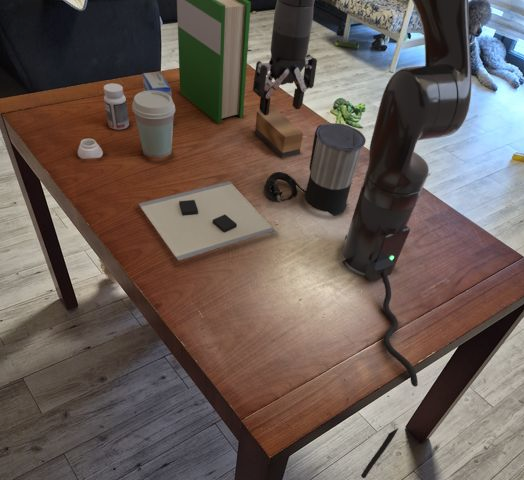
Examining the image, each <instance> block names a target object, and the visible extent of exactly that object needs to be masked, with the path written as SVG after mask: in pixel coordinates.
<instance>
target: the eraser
mask: <svg viewBox="0 0 524 480" xmlns="http://www.w3.org/2000/svg"><path fill="white" fill-rule="evenodd" d="M255 117H256V118H255V128H254V133H255V134H256V135H257V136H258V137H259V138H260V139H261V140H262V141H263V142H264V143H265V144H267V146H268V147H270V148H271V149H272V150H273V151H274V152H275V153H276V154H277V155H278V156H279V157H280V158H281V159H283V158H286V157H291V156H295V155H299V154H301V147H302V142H303V136H304V132H303V131H301V129H299V128H298V127H297V126H296V125H295V124H294V123H293V122H291V121H290V120H289V119H288V118H287V117H286V116H285V115H283V114H282V113H281V112H279V110H277V109H276V108H269V114H268V115H264V114H263V113H262V112H261V111H260V110H258V111H256V116H255Z"/></svg>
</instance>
